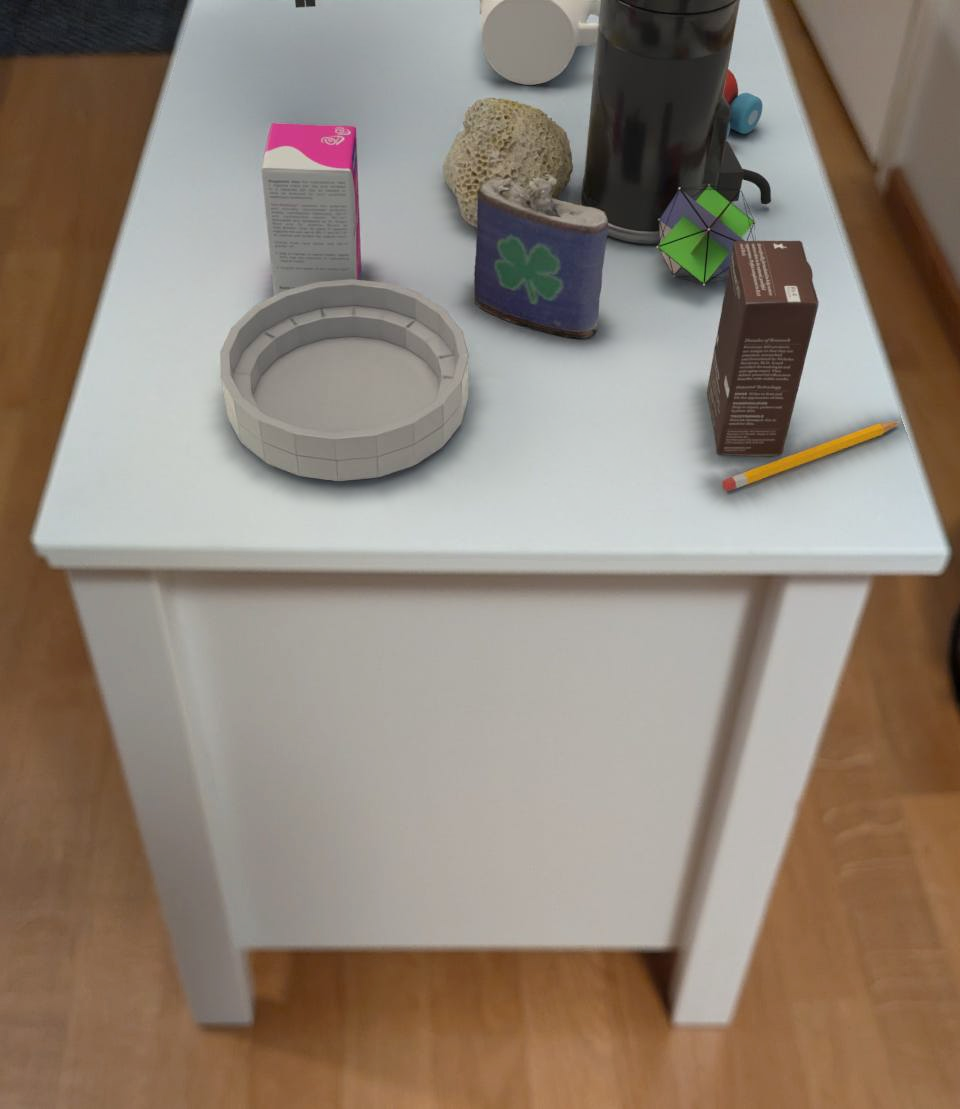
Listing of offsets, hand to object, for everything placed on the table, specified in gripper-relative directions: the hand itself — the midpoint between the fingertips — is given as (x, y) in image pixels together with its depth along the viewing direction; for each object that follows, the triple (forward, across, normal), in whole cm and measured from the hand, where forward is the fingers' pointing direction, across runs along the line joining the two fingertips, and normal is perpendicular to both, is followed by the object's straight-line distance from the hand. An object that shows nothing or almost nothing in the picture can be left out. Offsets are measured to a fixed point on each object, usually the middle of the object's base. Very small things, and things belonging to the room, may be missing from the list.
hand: (305, 3), depth 90 cm
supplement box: (+21, -1, -3) cm, 22 cm away
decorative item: (+14, +14, +4) cm, 20 cm away
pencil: (+35, +28, -18) cm, 48 cm away
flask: (+24, +13, -6) cm, 28 cm away
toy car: (+8, +31, +11) cm, 33 cm away
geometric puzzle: (+17, +28, -9) cm, 34 cm away
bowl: (+30, 0, -12) cm, 32 cm away
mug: (-1, +21, +19) cm, 28 cm away
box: (+34, +24, -15) cm, 44 cm away
